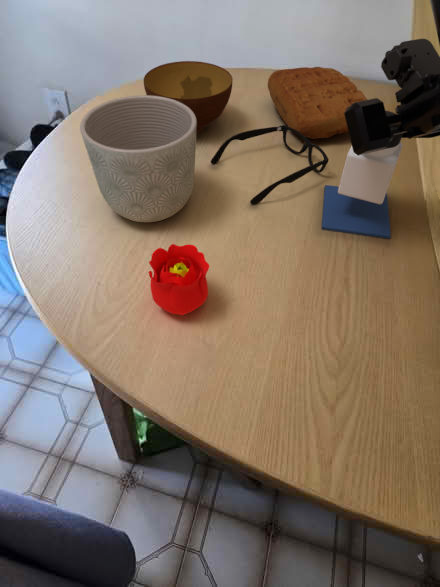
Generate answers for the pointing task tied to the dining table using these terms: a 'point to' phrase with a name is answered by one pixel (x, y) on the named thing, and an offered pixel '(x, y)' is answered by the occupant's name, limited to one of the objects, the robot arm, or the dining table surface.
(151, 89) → the bowl
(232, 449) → the dining table surface
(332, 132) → the clay tablet
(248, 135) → the glasses
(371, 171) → the medicine bottle
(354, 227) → the towel
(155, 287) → the flower
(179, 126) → the planter
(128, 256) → the dining table surface
